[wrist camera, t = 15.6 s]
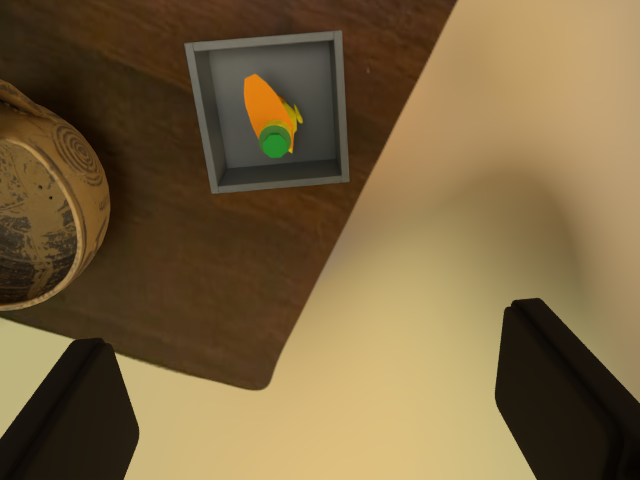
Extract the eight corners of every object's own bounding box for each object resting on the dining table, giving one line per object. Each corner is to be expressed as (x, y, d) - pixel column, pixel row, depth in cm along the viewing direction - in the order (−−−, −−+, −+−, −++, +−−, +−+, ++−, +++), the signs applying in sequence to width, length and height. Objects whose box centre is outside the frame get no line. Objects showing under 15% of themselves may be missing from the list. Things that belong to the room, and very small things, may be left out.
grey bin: (335, 31, 37) (342, 30, 32) (342, 163, 42) (349, 182, 36) (200, 42, 37) (183, 43, 32) (222, 173, 42) (211, 194, 36)
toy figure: (240, 77, 38) (218, 92, 27) (279, 59, 37) (272, 67, 26) (275, 150, 40) (267, 191, 29) (311, 134, 40) (317, 169, 29)
